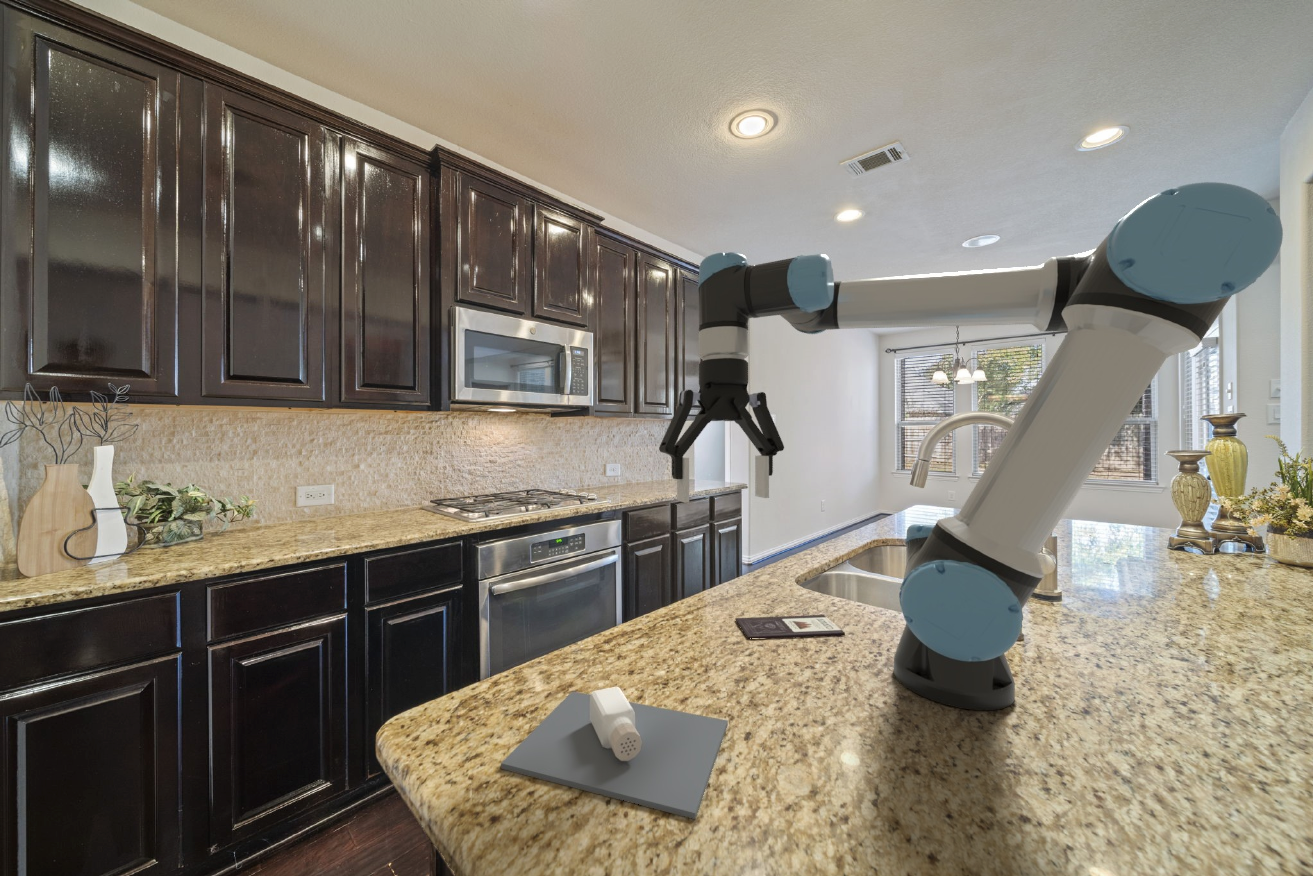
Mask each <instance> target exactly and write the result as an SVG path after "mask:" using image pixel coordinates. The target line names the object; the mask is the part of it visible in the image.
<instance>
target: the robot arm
mask: <svg viewBox="0 0 1313 876" xmlns="http://www.w3.org/2000/svg"><path fill="white" fill-rule="evenodd" d="M1283 231H1284V230H1283V224H1282V220H1281V218H1280V216H1279V215H1277V213H1276V211H1275V209H1274V208H1273V207H1272V205H1271V203H1270V202H1269V201H1268V200H1267V199H1265V198H1264V197H1263V196H1261V195H1259V194H1258V193H1256V192H1254V191H1252V190H1251V189H1248V188H1245V187H1243V186H1239V185H1236V184H1231V183H1227V182H1216V181H1215V182H1214V181H1213V182H1210V181H1209V182H1208V181H1207V182H1206V181H1205V182H1194V183H1189V184H1183V185H1179V186H1178V185H1177V186H1175V187H1172V188H1169V189H1166V190H1164V191H1161V192H1159V193H1156V194H1155V195H1152V196H1151V197H1149V198H1147V199H1146V200H1144V201H1142V202H1141V203H1140V204H1138V205H1137V206H1135V207H1134V208H1132V209H1131V210H1129V211H1128V212H1126V213H1125V214H1124V215H1123V217H1122V218H1121V219H1119V220H1118V221H1117V222H1116V223H1115V224H1114V227H1112V229H1111V231H1110V232H1109V233H1108V234H1107V235H1106V236H1105V238H1104V239H1103V240H1102V241H1101V242H1100V243H1099V245H1098V246H1097V247H1096V248H1095V249H1092V250H1089V251H1086V252H1082V253H1078V254H1077V253H1076V254H1073V255H1072V254H1071V255H1062V256H1052V257H1049V258H1048V259H1047V260H1046V261H1045V262H1043V263H1042V264H1040V265H1036V266H1027V267H1026V266H1024V267H1023V266H1022V267H1010V268H997V269H995V268H994V269H983V270H970V271H969V270H968V271H958V272H957V271H956V272H942V273H929V274H927V273H926V274H914V275H913V274H912V275H903V276H902V275H900V276H889V277H874V278H873V277H872V278H863V279H862V278H861V279H848V280H847V279H845V280H840V281H838V280H837V281H835V280H834V271H833V267H832V262H831V258H830V257H829V256H828V255H827V254H823V253H817V254H807V255H805V254H800V255H797V256H796V257H790V258H787V259H781V260H780V259H779V260H776V261H769V262H763V263H758V264H754V265H751V264H750V265H749V261H748V259H747V257H746V256H745V255H744V254H741V253H738V252H733V251H732V252H723V251H721V252H717V253H713V254H710V255H708V256H706V257H704V258H703V260H702V261H701V262H700V265H699V268H698V269H699V270H698V271H699V272H698V285H697V288H696V290H697V296H698V302H697V303H698V357H699V358H700V359H701V361H700V362H699V363H698V386H699V390H698V392H695V391H693V390H692V389H686V390H682V391H680V392H679V395H678V405H677V408H676V410H675V411H674V414H673V416H672V419H671V421H670V423H669V425H668V427H667V429H666V431H665V433H664V436H663V438H662V440H661V443H660V444H659V447H658V451H659V452H661V453H663V454H666V455H669V456H670V457H671V478H672V479H674V480H676V493H677V494H676V500H677V501H678V502H681V503H684V504H686V503H688V504H689V503H690V457H685V456H684V455H685V454H686V453H687V451H689V449H690V448H691V446H692V445H693V444H694V442H695V441H696V440H697V438H698V437H699V436H700V435H701V433H702V432H703V431H704V429H705V428H706V427H707V425H708V424H709V423H711V422H721V421H724V422H735V423H736V424H737V425H738V426H739V427H740V429H741V430H742V431H743V432H744V434H745V435H746V436H747V438H748V439H749V440H750V442H751V443H752V445H753V446H754V447H755V449H756V450H757V451H758V453H759V454H760V455H759V454H758V455H757V454H756V455H754V456H755V457H754V461H755V462H754V467H755V468H754V471H755V472H754V473H755V474H754V475H755V476H754V477H755V478H754V480H755V482H754V483H755V485H754V488H755V491H754V493H755V494H754V495H755V497H758V498H763V499H768V498H770V476H771V477H772V475H773V473H774V472H773V471H774V467H773V466H774V463H773V462H774V461H773V459H774V456H777V454H778V452H782V451H784V449H785V445H784V443H783V440H782V438H781V436H780V434H779V431H778V429H777V426H776V423H775V422H774V419H773V417H772V415H771V412H770V410H769V407H768V401H767V395H766V393H765V392H764V391H760V392H756V393H752V394H749V392H748V384H749V362H748V360H746V359H747V357H749V355H750V354H749V320H750V319H758V318H764V317H772V316H780V317H782V318H783V319H784V320H786V321H787V322H788V323H789V324H790V326H792V328H794V329H795V330H797V331H798V332H800V333H803V334H807V335H818V334H821V333H823V332H825V331H827V330H828V331H829V330H843V329H845V330H846V329H849V330H850V329H883V328H886V329H887V328H889V329H890V328H921V327H922V328H927V327H928V328H929V327H930V328H931V327H963V326H964V327H968V326H969V327H970V326H1006V325H1009V326H1010V325H1031V326H1033V327H1034V328H1036V329H1037V330H1038V331H1040V332H1066V335H1065V336H1064V338H1063V340H1062V342H1061V343H1060V345H1059V347H1058V348H1057V350H1056V352H1055V353H1054V354H1053V356H1052V358H1051V360H1050V362H1049V363H1048V364H1047V366H1046V368H1045V370H1044V371H1043V373H1042V375H1041V376H1040V378H1039V379H1038V381H1037V383H1036V385H1035V386H1034V387H1033V389H1032V391H1031V393H1030V394H1029V396H1028V397H1027V399H1026V401H1025V403H1024V405H1023V406H1022V408H1021V409H1020V411H1019V412H1018V414H1017V417H1016V418H1015V419H1014V421H1013V423H1012V425H1011V426H1010V428H1009V430H1008V432H1007V433H1006V434H1005V436H1004V438H1003V440H1002V441H1001V443H1000V444H999V446H998V448H997V450H996V451H995V452H994V454H993V456H992V457H991V460H990V461H989V463H988V464H987V466H986V468H985V470H983V473H982V474H981V476H980V477H979V479H978V480H977V482H976V484H975V486H974V487H973V489H972V491H971V493H970V494H969V496H968V497H967V499H966V500H965V502H964V504H963V506H962V507H961V509H960V511H959V512H958V513H957V514H956V515H953V516H949V517H945V518H944V517H943V518H940V519H938V520H937V521H936V523H935V524H922V523H921V524H920V523H916V524H911V525H909V526H908V527H907V529H906V536H905V537H906V538H905V539H904V544H905V547H906V548H905V549H906V551H905V552H906V553H905V554H906V558H905V562H906V563H905V564H906V565H905V571H904V575H903V581H902V583H901V586H900V588H899V589H900V591H899V604H900V608H901V611H902V615H903V618H904V621H905V626H904V629H903V631H902V634H901V636H900V640H899V642H898V645H897V648H896V650H895V654H894V656H893V673H894V676H895V678H896V679H897V681H898V682H899V683H900V684H902V685H903V686H904V687H905V688H907V689H908V690H910V691H912V692H913V693H915V694H917V695H919V696H921V697H923V698H926V699H928V700H931V701H934V702H936V703H940V704H943V705H946V706H950V707H954V708H960V709H967V710H974V711H995V710H997V711H998V710H1001V709H1005V708H1007V707H1010V706H1011V705H1012V704H1013V703H1014V702H1015V698H1016V692H1015V689H1016V687H1015V685H1016V683H1015V678H1014V676H1013V673H1012V670H1011V668H1010V664H1009V661H1008V660H1007V657H1006V653H1007V652H1008V651H1009V650H1010V649H1011V648H1012V647H1014V645H1015V644H1016V642H1017V641H1018V639H1019V636H1020V635H1021V631H1022V627H1023V620H1024V613H1023V608H1024V607H1025V606H1026V604H1027V602H1029V599H1031V598H1030V597H1031V596H1032V595H1033V594H1034V592H1035V590H1036V589H1037V587H1038V586H1039V584H1040V583H1041V581H1042V580H1043V578H1044V576H1045V572H1044V570H1043V569H1044V568H1043V567H1042V564H1041V562H1040V561H1041V560H1040V559H1039V553H1040V551H1041V549H1042V548H1043V546H1044V545H1045V544H1046V542H1047V541H1048V539H1049V537H1051V536H1050V535H1052V533H1053V532H1054V530H1055V528H1056V527H1057V525H1058V524H1059V523H1060V521H1061V520H1062V518H1063V517H1064V514H1065V513H1066V512H1067V510H1068V509H1069V507H1070V505H1071V504H1072V502H1073V501H1074V500H1075V498H1076V496H1078V493H1079V492H1080V490H1081V489H1082V487H1083V486H1084V484H1085V482H1086V481H1087V479H1089V476H1090V475H1091V474H1092V473H1093V470H1094V469H1095V467H1096V466H1097V464H1098V463H1099V462H1100V460H1101V458H1102V457H1103V456H1104V454H1105V452H1107V449H1108V447H1109V446H1110V445H1111V443H1112V442H1113V440H1114V439H1115V437H1116V436H1117V434H1118V432H1119V431H1120V430H1121V428H1122V427H1123V425H1124V423H1125V422H1126V420H1127V419H1128V417H1129V415H1130V414H1131V413H1132V411H1133V410H1134V408H1135V407H1136V405H1137V404H1138V402H1139V401H1140V399H1141V397H1142V396H1143V395H1144V393H1145V392H1146V391H1147V389H1148V387H1149V386H1150V384H1151V383H1152V381H1153V380H1154V377H1155V376H1156V375H1157V373H1158V372H1159V371H1160V369H1161V368H1162V366H1163V364H1164V363H1165V361H1166V360H1167V359H1168V358H1169V357H1172V356H1175V355H1178V354H1181V353H1184V352H1186V351H1187V352H1188V351H1190V350H1192V349H1193V350H1194V349H1196V348H1197V347H1198V346H1199V344H1200V343H1201V341H1202V340H1203V339H1204V337H1205V335H1207V332H1208V331H1209V330H1210V328H1211V327H1212V325H1213V324H1214V323H1215V321H1216V319H1217V318H1219V315H1220V314H1221V312H1222V311H1223V310H1224V307H1225V306H1226V305H1227V303H1228V302H1229V301H1230V299H1231V298H1232V296H1234V295H1236V294H1238V293H1241V292H1242V291H1244V290H1246V289H1247V288H1249V287H1250V286H1251V285H1252V284H1254V283H1255V282H1257V280H1258V279H1259V278H1260V277H1261V276H1262V275H1263V274H1264V273H1265V272H1267V270H1268V269H1269V268H1270V267H1271V265H1272V264H1273V263H1274V262H1275V260H1276V258H1277V257H1278V254H1279V252H1280V250H1281V246H1282V243H1283V238H1284V237H1283V236H1284V233H1283ZM696 403H698V404H699V406H700V408H701V409H699V411H698V412H697V414H696V415H695V418H694V420H693V421H692V422H691V424H690V425H689V426H688V428H687V429H686V430H685V432H684V433H683V434H682V435H681V433H682V430H683V428H684V426H685V424H686V422H687V420H688V418H689V415H690V413H691V410H692V407H693V406H694V405H696ZM748 404H749V406H750V407H751V408H752V411H753V414H754V416H755V419H756V421H757V424H758V425H759V427H758V425H757V424H756V423H755V422H754V420H753V417H752V414H750V412H749V411H748V409H747V406H748ZM680 435H681V437H680ZM679 437H680V438H679Z"/></svg>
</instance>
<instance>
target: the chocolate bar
mask: <svg viewBox="0 0 1313 876" xmlns="http://www.w3.org/2000/svg"><path fill="white" fill-rule="evenodd" d="M735 620H736V621H735ZM735 620H734V621H735V623H736V622H737V623H738V624H739V626H740V627H741V629H742V630H743V631H742V630H741V629H740V630H741V631H742V633H743V632H744V633H745V634H744V633H743V634H744V636H745V635H746V636H747V637H746V636H745V637H746V639H747V638H748V639H750V638H751V639H752V638H781V639H797V638H796V637H804V638H815V637H814V636H827V637H842V636H841V635H845V636H846V632H845V631H843V630H842V629H841V628H840V627H839V626H837V624H835V623H834V622H833V621H832V620H831V619H829V618H828V617H827V616H826V615H824V614H811V615H809V614H808V615H785V616H783V615H782V616H781V615H780V616H764V617H763V616H761V617H760V616H755V617H736V618H735ZM737 623H736V624H737ZM738 624H737V625H738ZM739 626H738V627H739ZM740 627H739V628H740ZM793 637H795V638H793ZM748 639H747V640H748Z"/></svg>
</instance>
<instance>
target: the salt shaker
mask: <svg viewBox="0 0 1313 876" xmlns="http://www.w3.org/2000/svg"><path fill="white" fill-rule="evenodd" d="M590 695H591V696H590V720H591V722H592V725H593V727H594V729H595V731H596V733H597V735H598V738H599V740H600V742H601V744H602V746H603V747H604V748H607V749H608V748H612V750H613V752H614V754H615V756H616V757H617V758H618V759H620V760H621V761H629V760H631V759H633V758H634V757H636V755H637V754H638V753H639V751H640V749H641V744H642V741H641V738H640V735H639V733H638V732H637V730H636V728H635V712H634V710H633V708H632V707H631V705H630V703H629V702H630V701H629V700H628V699H627V697H626V696H625V694H624V692H623V691H622V690H621V688H620V687H618V686H613V687H607V688H602V689H597V690H594V691H591V693H590Z"/></svg>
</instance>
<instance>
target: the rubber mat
mask: <svg viewBox="0 0 1313 876" xmlns="http://www.w3.org/2000/svg"><path fill="white" fill-rule="evenodd" d="M590 696H591V693H590V694H589V693H583V692H579V691H573V690H572V691H571V692H570V693H569V694H568V695H567V696H566V697H565V698H564V699H563V700H562V701H561V702H560V703H559V704H558V705H557V706H556V707H555V708H554V710H552V711H551V712H550V713H549V715H547V716H546V717H545V718H544V719H543V720H542V721H541V722H540V723H539V724H538V725H537V726H536V727H535V728H534V729H533V730H532V731H531V732H530V733H529V734H528V735H527V736H526V737H525V738H524V739H523V741H521V742H520V744H518V746H516V747H515V748H514V750H513V751H512V752H510V754H509V755H507V756H506V757H505V758H504V760H502V762H501V763H500V769H501V770H504V771H508V772H512V773H516V774H520V775H524V776H529V777H532V778H536V779H539V780H543V781H545V782H546V781H547V782H551V783H553V784H558V785H562V786H564V787H569V788H574V789H577V790H582V791H585V792H589V793H593V794H596V795H600V796H604V797H608V798H611V799H615V800H619V799H620V801H623V800H624V801H623V802H626V801H627V803H630V804H634V803H635V804H634V805H638V804H639V806H641V807H646V808H650V809H653V808H654V810H658V811H662V812H664V813H669V814H673V815H676V816H681V817H684V816H685V817H684V818H688V817H689V818H688V819H691V818H692V820H695V819H697V818H698V817H697V816H698V814H697V813H699V811H700V807H701V805H700V804H702V802H703V799H702V798H704V796H705V793H704V792H706V790H707V787H708V784H709V782H708V781H710V779H711V776H710V775H712V773H713V770H714V766H715V764H716V760H717V758H718V755H719V753H720V749H721V746H722V744H721V743H723V741H724V738H723V737H725V735H726V732H725V731H727V729H728V725H729V723H728V722H729V720H728V719H722V718H716V717H711V716H706V715H701V714H695V713H690V712H683V711H679V710H674V709H668V708H662V707H658V706H653V705H647V704H642V703H638V702H632V701H628V702H629V703H630V705H631V707H632V708H633V710H634V712H635V728H636V730H637V732H638V733H639V735H640V738H641V741H642V744H641V749H640V751H639V753H638V754H637V755H636V757H634V758H633V759H631V760H629V761H621V760H620V759H618V758H617V757H616V756H615V754H614V752H613V750H612V748H608V749H607V748H604V747H603V746H602V744H601V742H600V740H599V738H598V735H597V733H596V731H595V729H594V727H593V725H592V722H591V720H590ZM726 728H727V729H726ZM724 734H725V735H724ZM722 740H723V741H722ZM717 754H718V755H717ZM714 763H715V764H714ZM712 769H713V770H712ZM711 772H712V773H711ZM709 778H710V779H709ZM707 783H708V784H707ZM706 786H707V787H706ZM705 789H706V790H705ZM703 795H704V796H703ZM628 801H629V802H628ZM701 801H702V802H701ZM631 802H632V803H631ZM647 806H648V807H647ZM698 810H699V811H698Z"/></svg>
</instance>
